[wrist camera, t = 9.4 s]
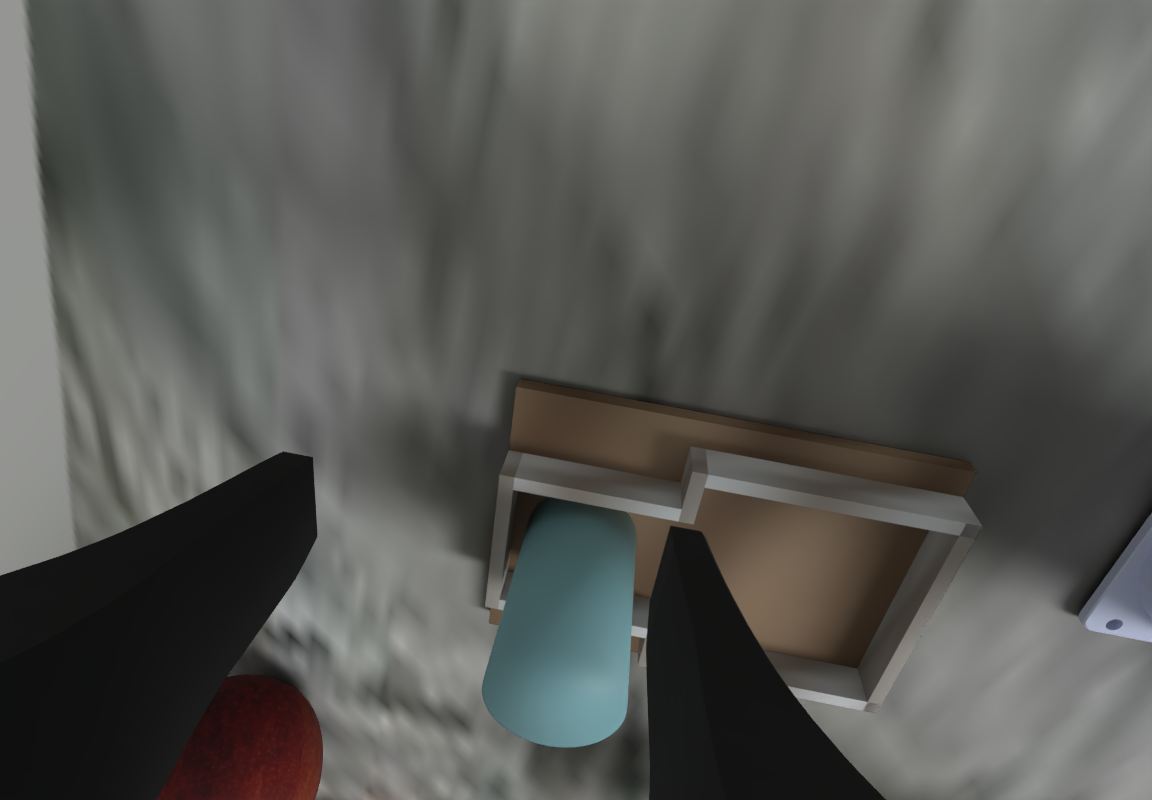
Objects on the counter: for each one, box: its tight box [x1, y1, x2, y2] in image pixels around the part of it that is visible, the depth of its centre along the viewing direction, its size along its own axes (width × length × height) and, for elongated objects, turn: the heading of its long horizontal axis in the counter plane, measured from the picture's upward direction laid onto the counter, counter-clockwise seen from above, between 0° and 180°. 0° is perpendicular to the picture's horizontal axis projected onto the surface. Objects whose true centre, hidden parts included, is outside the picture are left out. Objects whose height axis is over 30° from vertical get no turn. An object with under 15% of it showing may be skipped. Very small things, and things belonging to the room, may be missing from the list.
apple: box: [157, 675, 323, 800], centre depth 28 cm, size 7×8×8 cm
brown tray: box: [485, 379, 983, 713], centre depth 24 cm, size 15×11×2 cm
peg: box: [482, 497, 636, 747], centre depth 21 cm, size 4×4×7 cm
